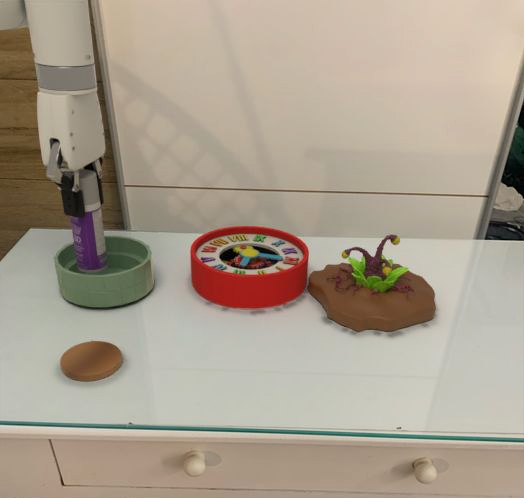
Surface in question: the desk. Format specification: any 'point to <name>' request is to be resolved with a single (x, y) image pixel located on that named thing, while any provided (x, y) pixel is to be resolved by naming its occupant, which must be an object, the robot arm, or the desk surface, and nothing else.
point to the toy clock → (249, 267)
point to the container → (89, 227)
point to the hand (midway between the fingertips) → (84, 208)
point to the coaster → (91, 361)
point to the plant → (373, 292)
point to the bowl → (107, 274)
